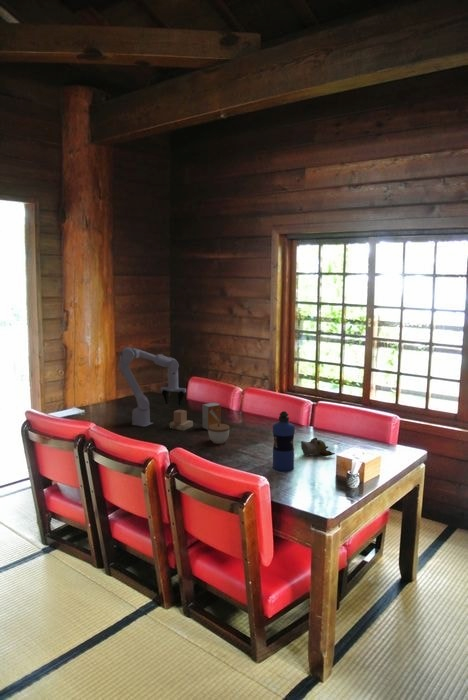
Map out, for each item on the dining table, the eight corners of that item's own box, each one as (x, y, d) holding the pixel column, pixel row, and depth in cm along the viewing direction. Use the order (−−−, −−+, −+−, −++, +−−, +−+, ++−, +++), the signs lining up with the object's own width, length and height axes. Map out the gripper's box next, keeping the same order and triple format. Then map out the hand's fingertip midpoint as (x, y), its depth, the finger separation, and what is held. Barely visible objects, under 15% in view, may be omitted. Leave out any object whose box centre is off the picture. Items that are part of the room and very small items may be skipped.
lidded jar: (224, 446, 257) (224, 427, 256) (204, 443, 261) (204, 425, 260) (232, 439, 267) (232, 421, 266) (213, 437, 271) (212, 419, 270)
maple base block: (169, 428, 287) (169, 422, 286) (179, 424, 295) (179, 418, 294) (183, 431, 282) (183, 425, 282) (193, 427, 290) (192, 421, 289)
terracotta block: (173, 422, 287) (173, 411, 286) (179, 420, 291) (179, 409, 290) (180, 423, 284) (180, 412, 283) (186, 421, 288) (186, 410, 288)
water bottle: (292, 464, 234) (293, 409, 230) (295, 472, 224) (296, 414, 221) (271, 464, 233) (271, 409, 230) (273, 472, 224) (274, 415, 220)
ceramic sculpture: (298, 434, 248) (328, 434, 250) (296, 451, 249) (327, 452, 251) (304, 441, 237) (336, 441, 240) (303, 460, 239) (334, 460, 241)
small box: (208, 430, 283) (208, 406, 281) (202, 427, 288) (202, 404, 286) (221, 427, 287) (220, 404, 285) (215, 425, 292) (214, 402, 290)
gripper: (158, 381, 292) (158, 405, 294) (182, 382, 289) (183, 406, 291) (163, 378, 299) (163, 402, 301) (187, 380, 295) (187, 403, 297)
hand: (173, 404), depth 296 cm, fingers open, 7 cm apart
